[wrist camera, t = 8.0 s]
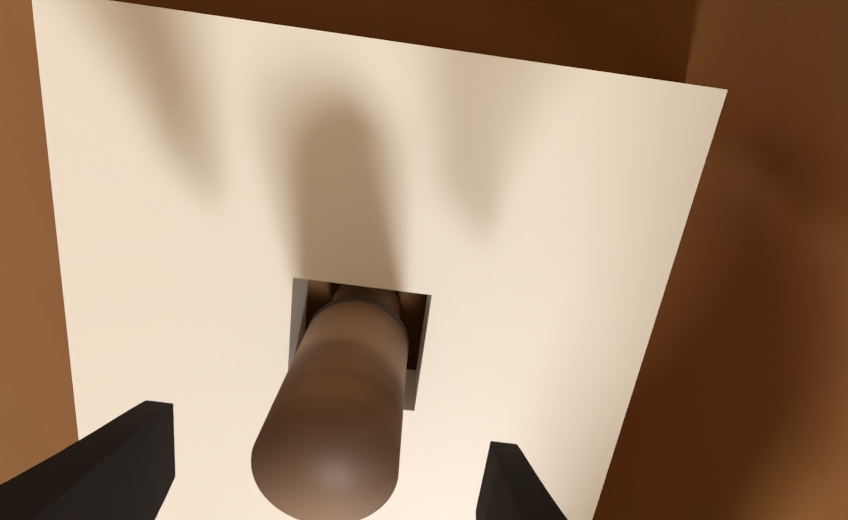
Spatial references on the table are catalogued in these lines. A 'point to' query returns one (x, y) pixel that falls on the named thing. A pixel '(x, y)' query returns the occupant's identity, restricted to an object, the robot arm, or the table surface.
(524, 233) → the cream board
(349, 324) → the walnut peg
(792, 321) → the table surface
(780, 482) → the table surface
